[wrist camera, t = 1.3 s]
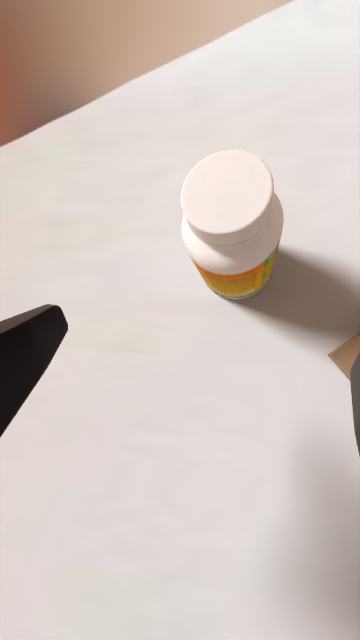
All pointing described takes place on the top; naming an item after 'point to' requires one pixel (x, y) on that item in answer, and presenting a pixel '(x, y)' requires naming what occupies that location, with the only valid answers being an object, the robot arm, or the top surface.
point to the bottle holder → (346, 355)
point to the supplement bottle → (232, 222)
